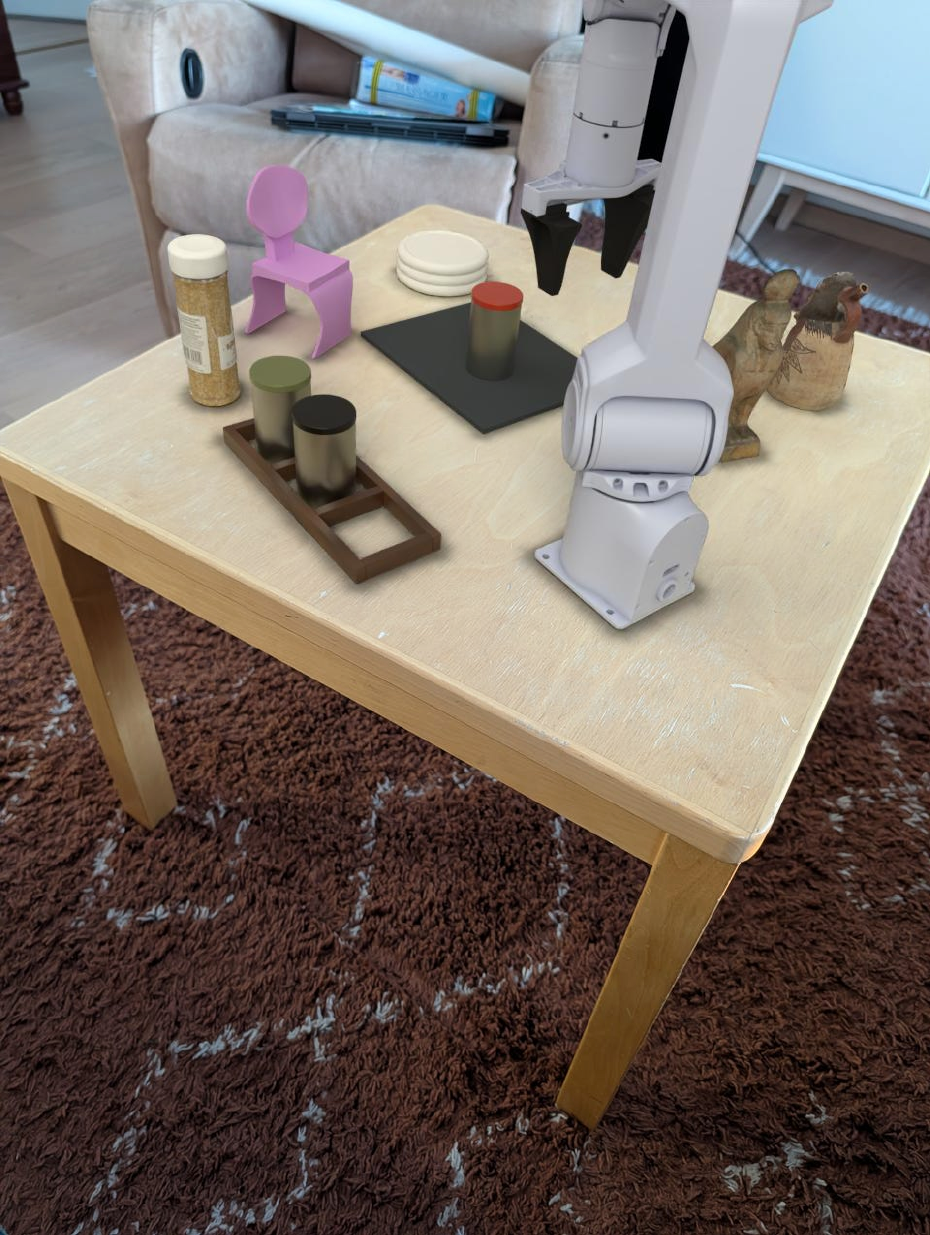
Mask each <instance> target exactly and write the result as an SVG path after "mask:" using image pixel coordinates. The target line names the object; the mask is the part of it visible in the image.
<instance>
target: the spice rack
mask: <svg viewBox="0 0 930 1235" xmlns="http://www.w3.org/2000/svg"><path fill="white" fill-rule="evenodd" d="M222 436H223V441H224V444H225V445H226V446H227V447H228V448H229V449H230V450H231V451H232V452H233V453H234V455H235V456H237V457H238V459H239V460H240V461H241V462H242V463H243V464H244V465H245V466H246V467H247V468H248V469H249V470H250V472H252V474H253V475H254V476H255V477H256V478H257V479H258V480H259V481H260V483H261V484H262V485H263V486H264V487H265V488H266V489H267V490H268V491H269V492H270V493H271V494H272V495H273V496H274V497H275V498H276V500H277V501H278V502H279V503H280V504H281V505H282V506H283V508H285V510H287V511H288V512H289V513H290V514H291V516H292V517H293V518H294V519H295V520H296V521H297V522H298V523H299V524H300V525H301V526H302V528H304V530H306V532H307V533H308V534H309V535H310V536H311V537H312V538H313V540H315V542H317V543H318V544H319V546H320V547H321V548H322V549H323V550H324V551H325V552H326V553H327V554H328V555H329V556H330V557H331V558H332V560H333V561H334V562H335V563H336V564H337V565H338V566H339V567H340V569H342V570H343V571H344V573H345V574H346V575H347V576H348V577H349V578H350V579H351V580H352V582H354V583H355V584H356V585H358V584H361V583H363V582H365V581H368V580H370V579H373V578H376V577H377V576H380V575H382V574H385V573H386V572H387V573H388V572H389V571H392V570H394V569H396V568H400V567H401V566H404V565H406V564H409V563H411V562H413V561H416V560H418V559H421V558H423V557H425V556H428V555H430V554H432V553H434V552H437V551H439V550H441V547H442V546H441V545H442V533H441V532H440V531H438V529H437V528H435V527H434V526H433V524H431V523H430V522H429V521H428V520H427V519H426V518H425V517H424V516H423V515H422V514H421V513H419V511H417V510H416V508H414V507H413V506H412V505H411V503H409V502H408V501H407V500H405V498H403V497H402V496H401V495H400V494H399V493H398V492H397V491H396V490H395V489H393V487H392V486H391V485H389V484H388V483H387V482H386V481H385V480H384V479H383V478H382V477H380V475H379V474H378V473H376V472H375V471H374V470H373V469H372V468H371V467H370V466H369V464H367V463H366V462H365V461H363V459H362V458H361V457H359V456H358V455H357V454H356V482H358V483H359V484H360V485H361V486H362V487H363V488H364V489H365V490H363V491H360V492H356V494H354V495H351V496H349V497H346V498H343V499H340V500H338V501H335V502H332V503H329V504H327V505H324V506H321V507H318V508H316V509H312V508H310V507H309V506H308V505H307V504H306V502H305V501H304V500H303V499H302V498H301V497H300V496H299V495H298V494H297V491H295V490H294V488H292V486H290V485H289V483H288V482H289V481H292V480H296V465H295V457H293V458H290V459H287V460H284V461H281V462H278V463H275V464H272V465H269V464H268V463H267V462H266V461H265V460H264V459H263V458H262V457H261V456H260V455H259V453H258V452H257V449H255V448H254V447H253V446H252V445H251V444H250V442H249V441H252V440H256V435H255V424H254V417H252V418H249V419H246V420H242V421H238V422H235V423H232V424H229V425H225V426H223V427H222ZM381 507H384V508H385V509H386V510H387V511H388V512H389V513H390V514H391V515H392V516H393V517H394V518H395V519H396V520H397V521H398V522H400V524H402V526H404V528H406V529H407V530H408V531H409V532H410V533H411V534H412V535H413V536H414V537H411V538H409V539H406V540H404V541H402V542H401V541H400V542H399V543H396V544H394V545H392V546H391V545H390V546H389V547H386V548H384V549H381V550H379V551H377V552H374V553H371V554H368V555H367V556H364V557H362V558H359V556H358V555H357V554H356V553H355V552H353V550H352V549H351V548H350V547H349V546H348V544H346V543H345V541H343V540H342V539H341V537H340V536H338V535H337V534H336V533H335V531H334V530H332V528H331V527H332V526H335V525H337V524H340V523H342V522H345V521H347V520H350V519H353V518H356V517H359V516H361V515H363V514H365V513H370V512H371V511H374V510H376V509H379V508H381Z"/></svg>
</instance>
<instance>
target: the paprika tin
mask: <svg viewBox="0 0 930 1235" xmlns="http://www.w3.org/2000/svg"><path fill="white" fill-rule="evenodd" d="M524 295H525V294H524V293H523V291H522V290H521V289H520V288H519V287H517V286H515V285H513V284H511V283H507V282H502V281H485V282H483V283H480V284H477V285H475V286H474V287H473V288H472V292H471V293H470V302H471V309H470V321H469V332H468V343H467V354H466V365H465V366H466V369H467V371H468V372H469V373H470V374H471V375H473V376H475V377H477V378H480V379H484V380H502V379H505V378H507V377H509V376H510V375H511V374H512V373H513V370H514V362H515V354H516V347H517V339H518V331H519V324H520V320H521V314H522V307H523V303H524Z"/></svg>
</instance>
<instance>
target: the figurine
mask: <svg viewBox="0 0 930 1235" xmlns="http://www.w3.org/2000/svg"><path fill="white" fill-rule="evenodd" d="M868 292H869V286H868V285H867V284H866V283H864V282H860V283H859V284H857V278H856V276H855V275H854V274H853V273H852V272H850V271H838V272H835V273H833V274H830V275H828V276H827V277H824V278H822V279H821V280H820V281H819V282H818V283H817V285H816V287H815V289H814V290H813V291H812V292H811V293H809V294H808V295H807V296H806V302H805V304H804V305H803V307H801V309H800V310H798V311H796V312H795V313H794V314H793V318H794V319H795V322H796V323H795V324H794V325H793V326H792V327H791V329H790V330H789V331H788V333H787V335H786V338H785V341H784V343H783V344H782V346H783V359H782V362H781V364H780V367H779V370H778V372H777V374H776V376H775V378H774V380H773V381H772V382H771V383H770V385H769V386H768V388H767V389H766V391H767V392H768V394H770V396H771V397H772V398H774V399H776V400H777V401H779V402H780V403H783V404H785V405H787V406H789V407H793V408H797V409H801V410H805V411H817V412H819V411H825V410H828V409H831V408H833V407H834V406H835V405H836V404H837V403H838V401H839V400H840V399H841V397H842V396H843V394H844V392H845V388H846V385H847V381H848V377H849V372H850V369H851V363H852V358H853V353H854V346H855V332H856V330H858V327H859V326H860V323H861V320H862V316H863V310H862V304H861V302H860V300H861V299H862V298H863V297H865V296H866V295H867V294H868Z"/></svg>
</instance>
